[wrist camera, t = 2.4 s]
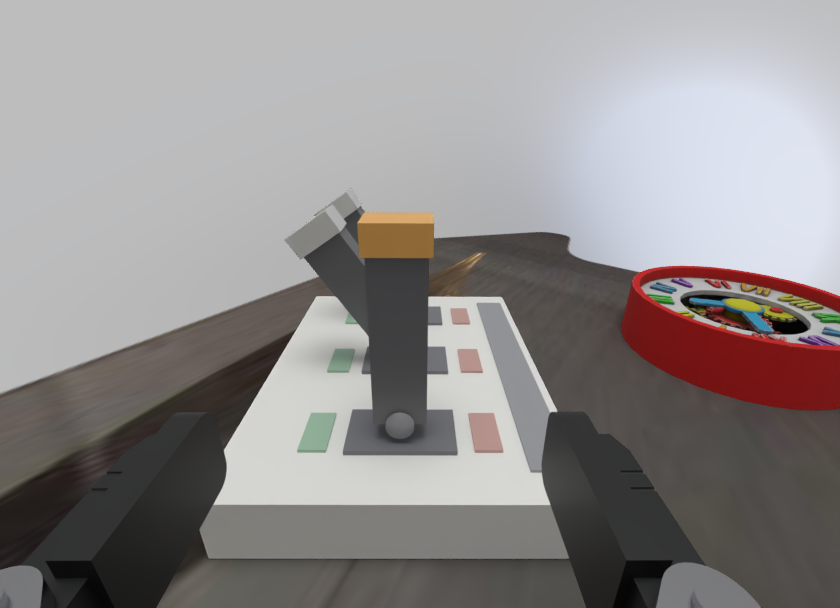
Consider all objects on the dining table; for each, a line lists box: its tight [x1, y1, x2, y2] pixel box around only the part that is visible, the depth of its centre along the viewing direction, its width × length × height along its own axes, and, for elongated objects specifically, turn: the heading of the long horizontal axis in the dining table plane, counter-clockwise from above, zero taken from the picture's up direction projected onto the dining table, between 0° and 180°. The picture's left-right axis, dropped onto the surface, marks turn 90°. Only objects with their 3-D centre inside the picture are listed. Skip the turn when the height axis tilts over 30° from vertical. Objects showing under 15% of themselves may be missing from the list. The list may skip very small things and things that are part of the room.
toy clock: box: [621, 266, 840, 410], centre depth 40 cm, size 20×6×20 cm
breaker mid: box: [285, 204, 369, 336], centre depth 29 cm, size 3×3×12 cm
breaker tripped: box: [357, 213, 434, 439], centre depth 21 cm, size 3×3×12 cm
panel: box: [199, 296, 569, 559], centre depth 32 cm, size 20×26×4 cm
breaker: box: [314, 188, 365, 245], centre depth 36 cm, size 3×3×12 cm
